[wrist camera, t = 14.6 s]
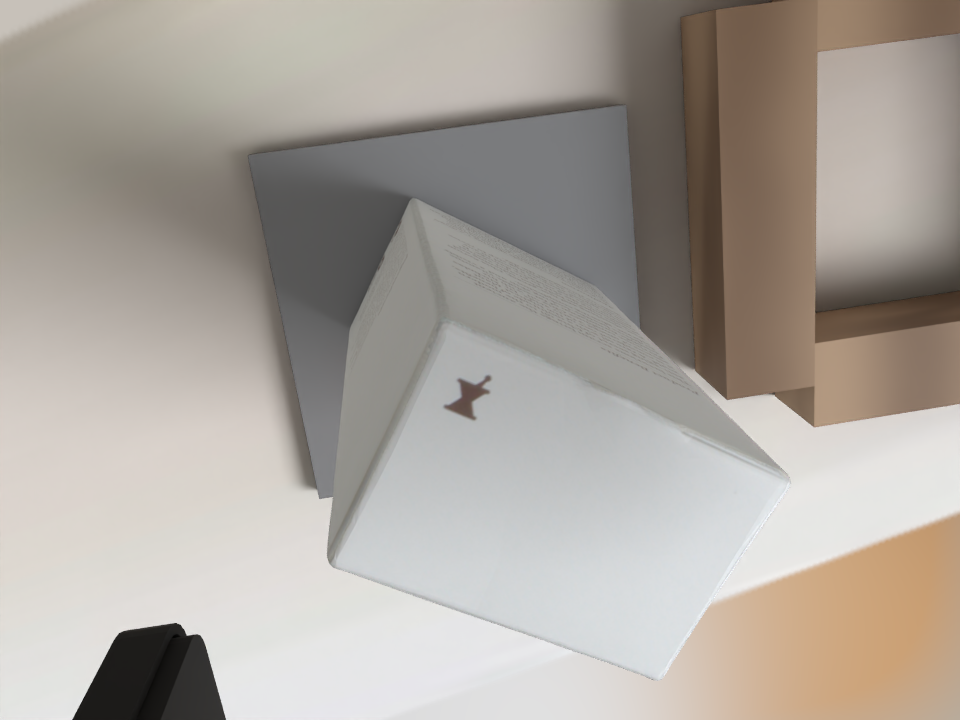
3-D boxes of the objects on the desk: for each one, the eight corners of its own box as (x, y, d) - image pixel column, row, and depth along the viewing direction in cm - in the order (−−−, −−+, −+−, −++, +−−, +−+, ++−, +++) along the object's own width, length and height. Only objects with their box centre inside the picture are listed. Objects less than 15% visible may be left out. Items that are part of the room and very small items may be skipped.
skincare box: (345, 332, 23) (308, 567, 12) (410, 192, 22) (438, 304, 11) (535, 415, 25) (664, 696, 13) (605, 288, 24) (807, 473, 12)
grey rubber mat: (621, 104, 23) (626, 104, 22) (642, 439, 26) (647, 445, 25) (250, 154, 22) (248, 155, 21) (320, 491, 25) (319, 498, 25)
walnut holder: (1129, -90, 22) (1216, -111, 20) (1078, 348, 26) (1146, 373, 24) (678, -34, 22) (714, -49, 19) (696, 408, 26) (728, 441, 23)
